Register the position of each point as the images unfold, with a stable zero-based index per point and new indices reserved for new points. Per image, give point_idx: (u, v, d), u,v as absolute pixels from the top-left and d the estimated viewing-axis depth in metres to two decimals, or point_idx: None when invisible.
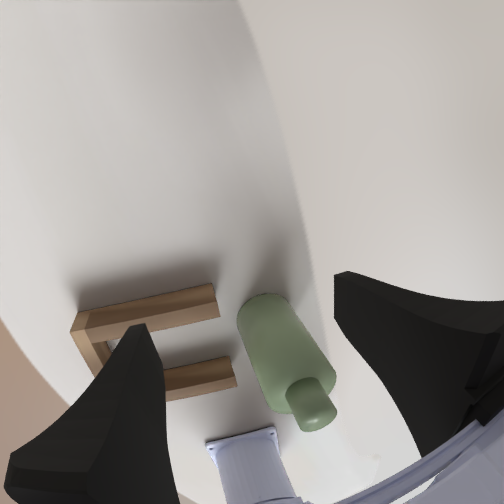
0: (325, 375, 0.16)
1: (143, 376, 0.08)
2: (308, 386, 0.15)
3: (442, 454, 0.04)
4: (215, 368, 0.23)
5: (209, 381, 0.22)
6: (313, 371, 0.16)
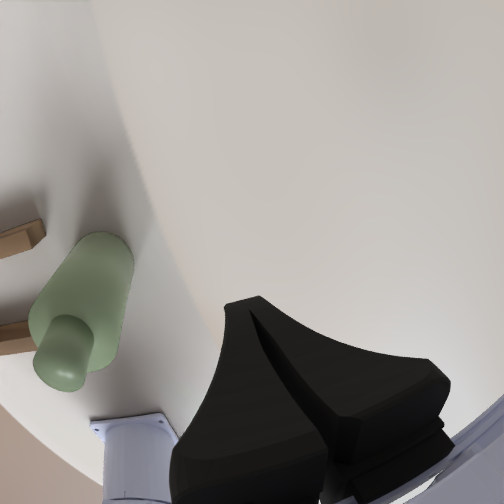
0: (93, 317, 0.11)
1: None
2: (58, 323, 0.10)
3: None
4: None
5: None
6: (71, 306, 0.11)
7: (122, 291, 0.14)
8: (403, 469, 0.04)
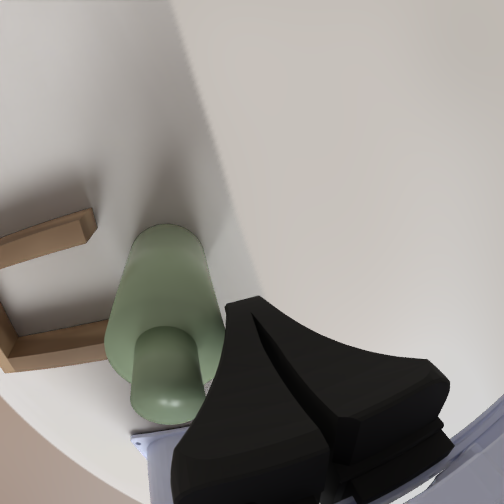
0: (201, 327, 0.10)
1: None
2: (158, 339, 0.09)
3: None
4: None
5: (94, 343, 0.15)
6: (173, 315, 0.09)
7: (214, 293, 0.13)
8: (403, 469, 0.04)
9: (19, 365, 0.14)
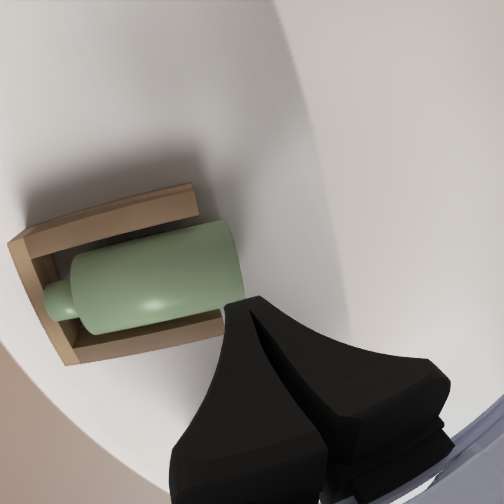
0: None
1: None
2: (70, 279, 0.14)
3: None
4: None
5: (186, 324, 0.16)
6: None
7: (137, 304, 0.13)
8: (404, 468, 0.04)
9: (87, 355, 0.15)
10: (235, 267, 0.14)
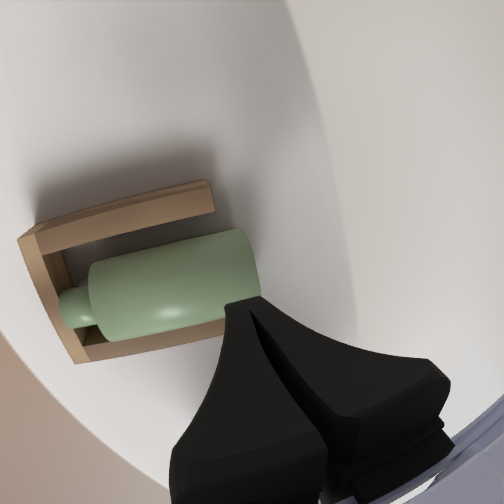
0: None
1: None
2: (85, 292, 0.14)
3: None
4: None
5: None
6: None
7: (161, 322, 0.14)
8: (404, 468, 0.04)
9: (98, 353, 0.15)
10: (256, 289, 0.14)
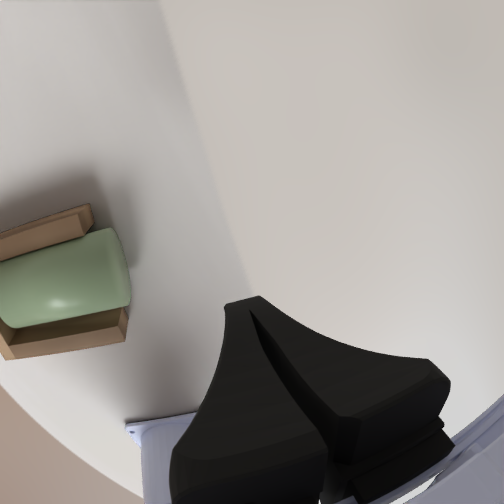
0: None
1: None
2: None
3: None
4: (102, 317, 0.17)
5: (89, 330, 0.16)
6: None
7: (30, 293, 0.13)
8: (404, 468, 0.04)
9: (19, 352, 0.15)
10: (102, 262, 0.13)
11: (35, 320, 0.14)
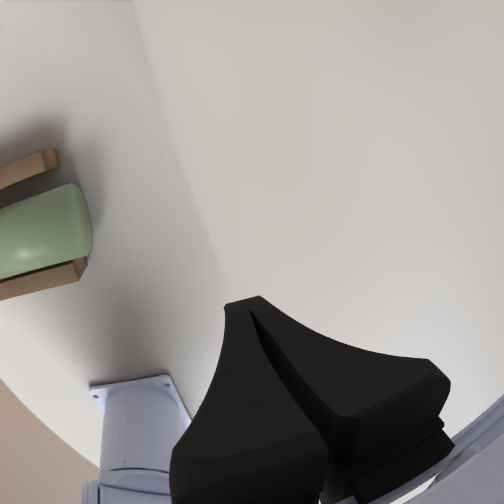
0: None
1: None
2: None
3: None
4: None
5: (47, 269, 0.16)
6: None
7: (5, 259, 0.13)
8: (404, 468, 0.04)
9: None
10: (64, 229, 0.14)
11: (12, 275, 0.15)
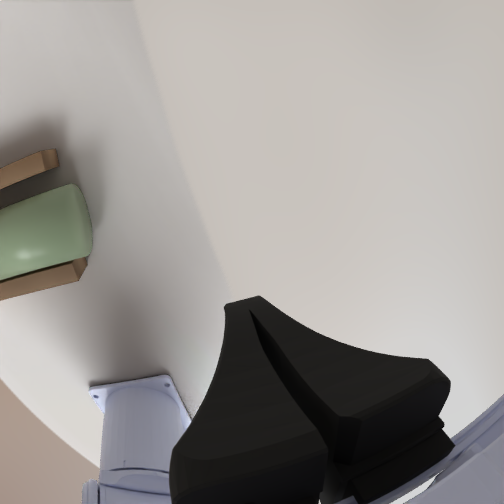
0: None
1: None
2: None
3: None
4: None
5: (47, 269, 0.16)
6: None
7: (6, 260, 0.13)
8: (404, 468, 0.04)
9: None
10: (64, 230, 0.14)
11: None
